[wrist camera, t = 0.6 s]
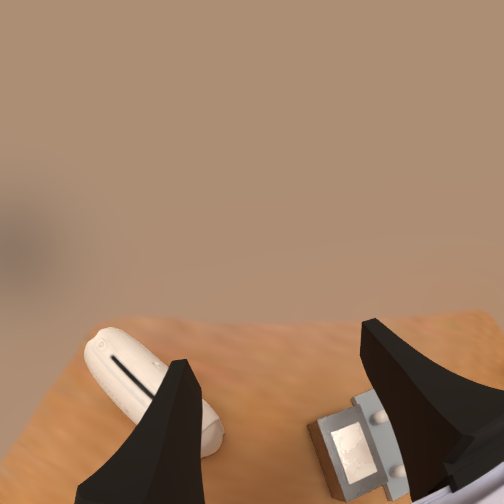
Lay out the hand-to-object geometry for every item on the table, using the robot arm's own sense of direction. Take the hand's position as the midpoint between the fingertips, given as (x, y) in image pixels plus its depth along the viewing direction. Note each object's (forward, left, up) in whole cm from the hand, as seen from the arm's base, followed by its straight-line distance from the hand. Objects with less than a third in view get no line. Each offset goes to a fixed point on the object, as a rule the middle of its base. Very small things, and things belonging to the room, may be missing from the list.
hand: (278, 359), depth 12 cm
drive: (-6, -7, -17) cm, 19 cm away
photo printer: (+2, +7, -17) cm, 19 cm away
